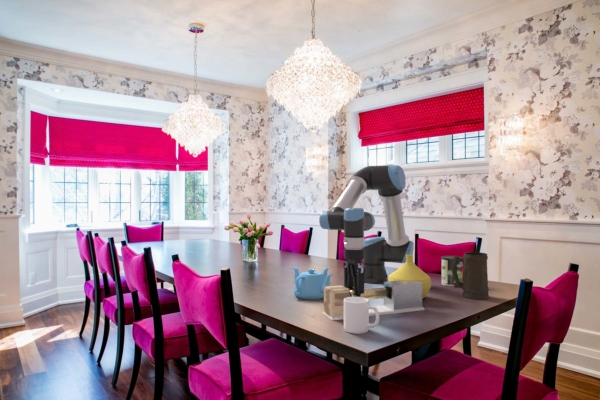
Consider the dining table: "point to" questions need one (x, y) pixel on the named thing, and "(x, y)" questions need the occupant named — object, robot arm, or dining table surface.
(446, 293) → the dining table surface
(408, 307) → the sleeve
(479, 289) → the beer stein
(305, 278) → the teapot
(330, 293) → the socket block
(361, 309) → the cup
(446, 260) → the coffee can
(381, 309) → the base rail
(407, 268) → the vase
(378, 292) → the slip tube
